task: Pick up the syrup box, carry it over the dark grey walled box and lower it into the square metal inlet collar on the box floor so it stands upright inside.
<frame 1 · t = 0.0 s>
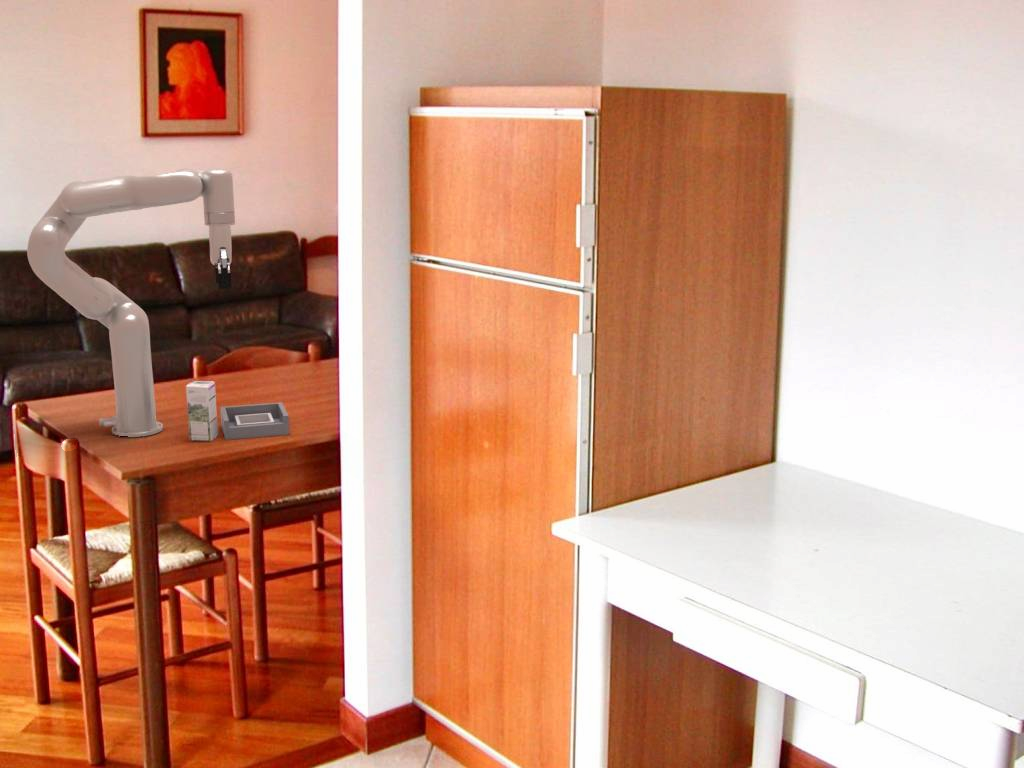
hand: (223, 285, 302), 37 cm above the table, tool pointing down, fingers open, 9 cm apart
walled box: (254, 429, 305), on the table
syrup box: (204, 439, 298), on the table
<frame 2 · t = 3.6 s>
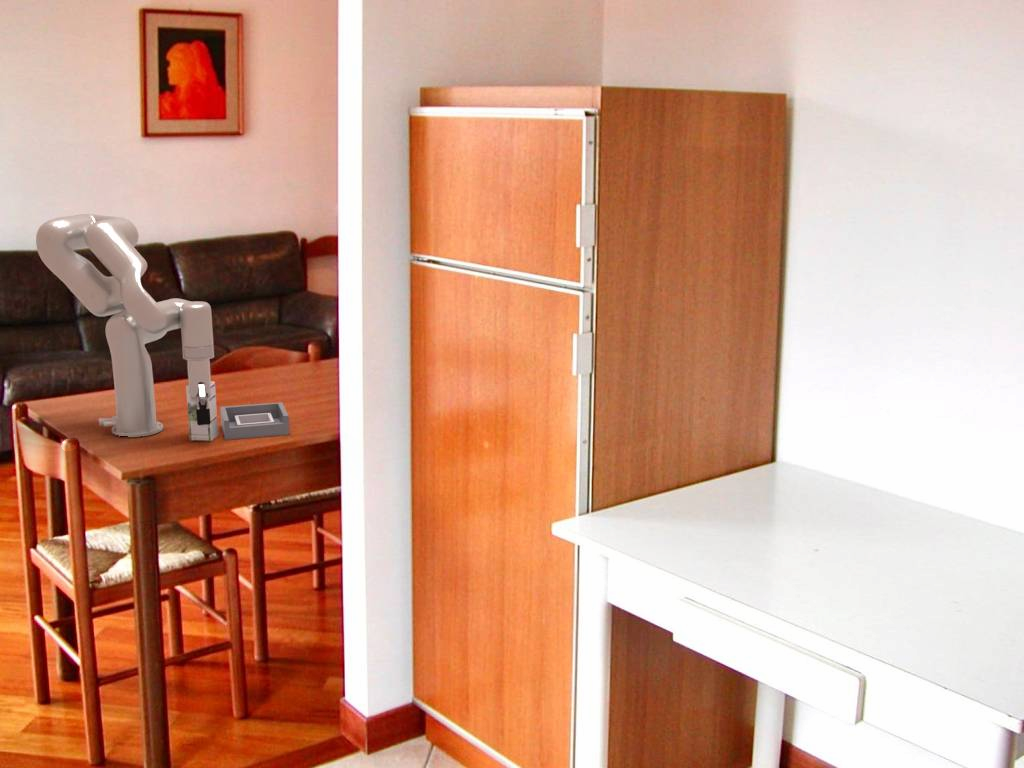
hand: (203, 419, 297), 5 cm above the table, tool pointing down, fingers closed on syrup box, 7 cm apart
syrup box: (204, 439, 298), on the table, touching gripper
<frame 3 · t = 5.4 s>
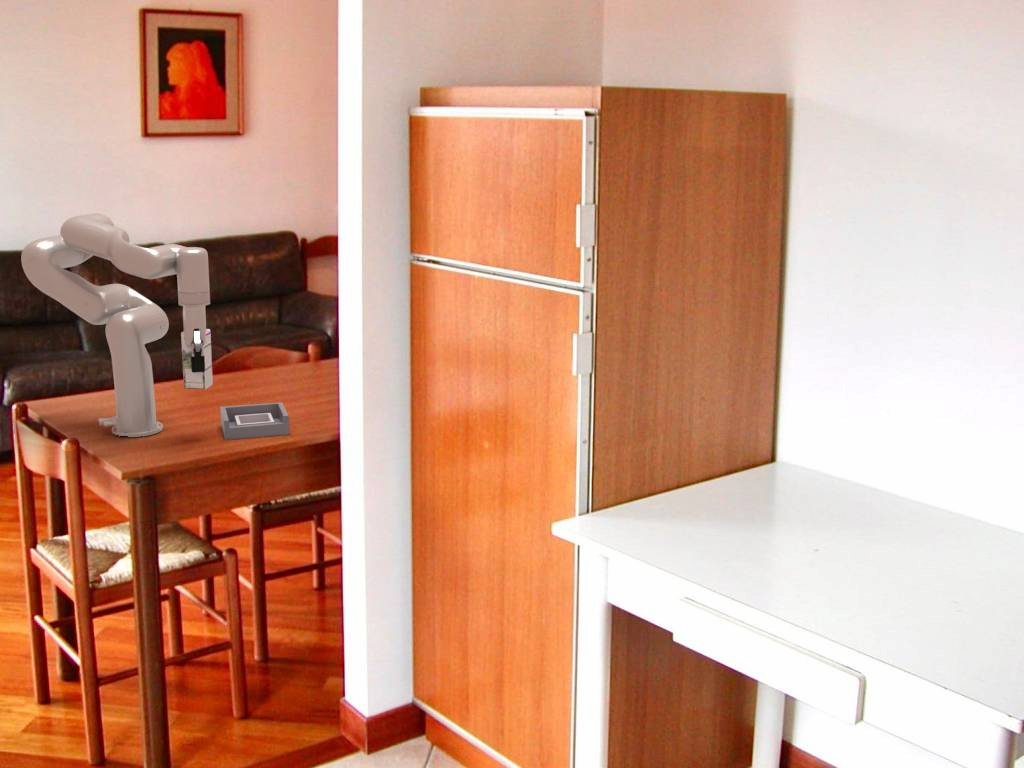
hand: (197, 367, 294), 18 cm above the table, tool pointing down, fingers closed on syrup box, 7 cm apart
syrup box: (198, 387, 295), point 13 cm above the table, touching gripper
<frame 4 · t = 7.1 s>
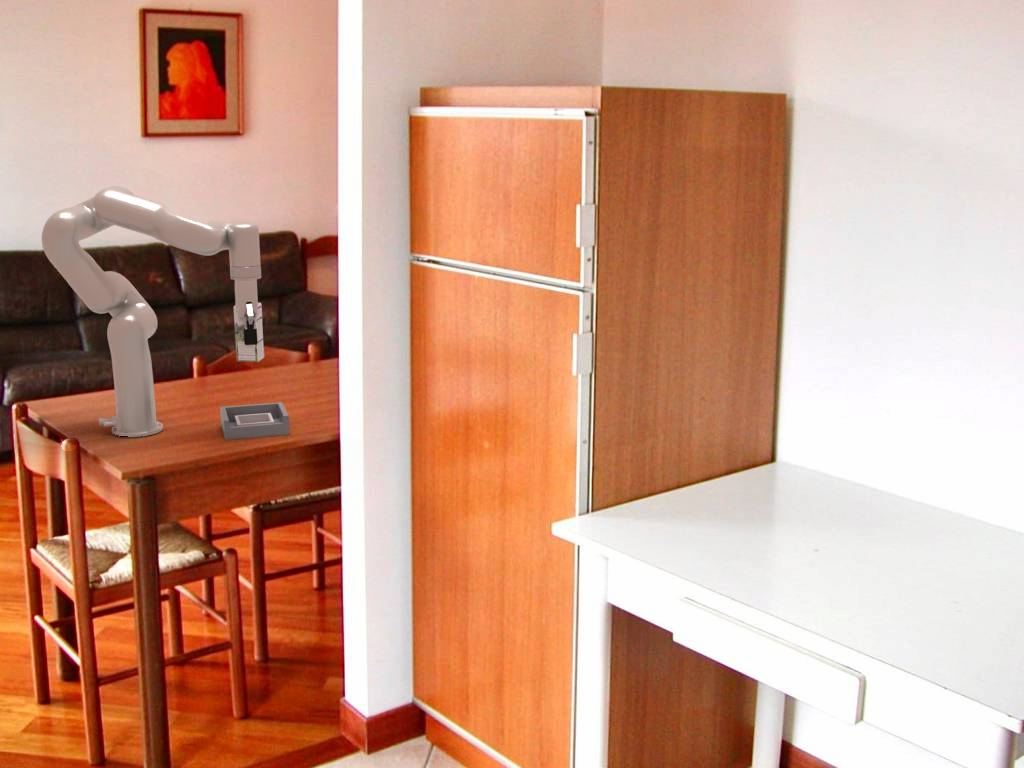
hand: (249, 340, 300), 24 cm above the table, tool pointing down, fingers closed on syrup box, 7 cm apart
syrup box: (250, 360, 301), point 18 cm above the table, touching gripper
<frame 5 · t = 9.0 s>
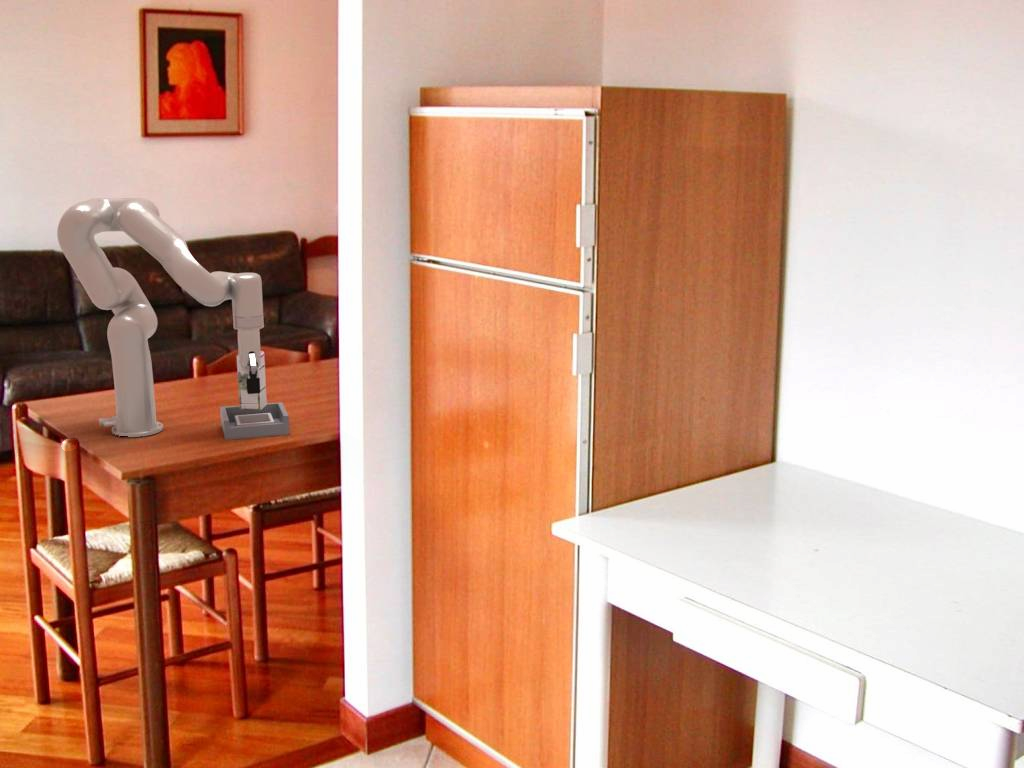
hand: (252, 389, 303), 11 cm above the table, tool pointing down, fingers closed on syrup box, 7 cm apart
syrup box: (253, 408, 304), point 6 cm above the table, touching gripper
when the fingers open (7 cm above the table, at t = 10.6 s): syrup box stays where it is, resting on walled box.
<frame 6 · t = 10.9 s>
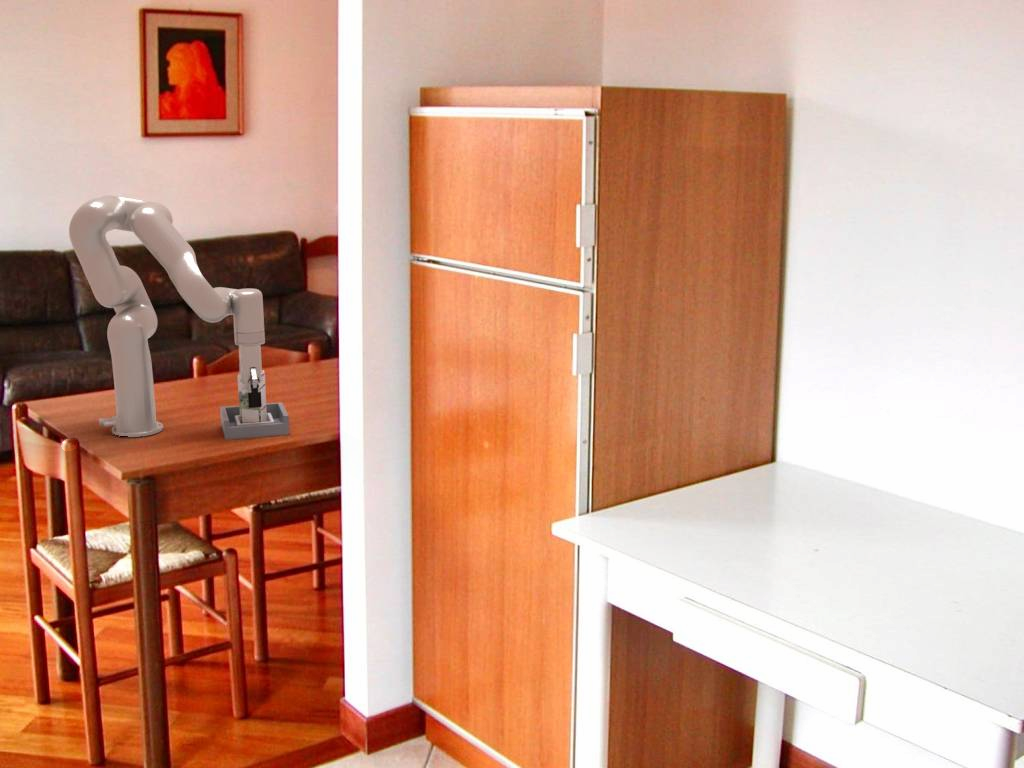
hand: (253, 402, 304), 7 cm above the table, tool pointing down, fingers open, 9 cm apart
syrup box: (254, 427, 305), point 1 cm above the table, touching walled box
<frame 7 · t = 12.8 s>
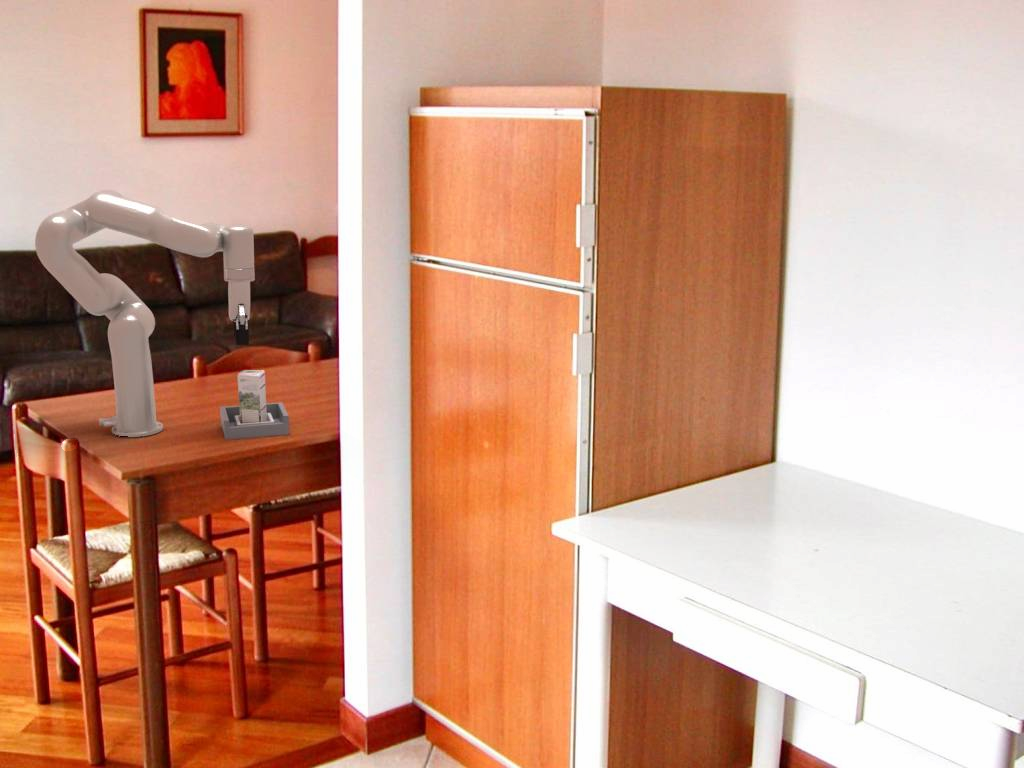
hand: (241, 340, 302), 23 cm above the table, tool pointing down, fingers open, 9 cm apart
nothing on the table moved.
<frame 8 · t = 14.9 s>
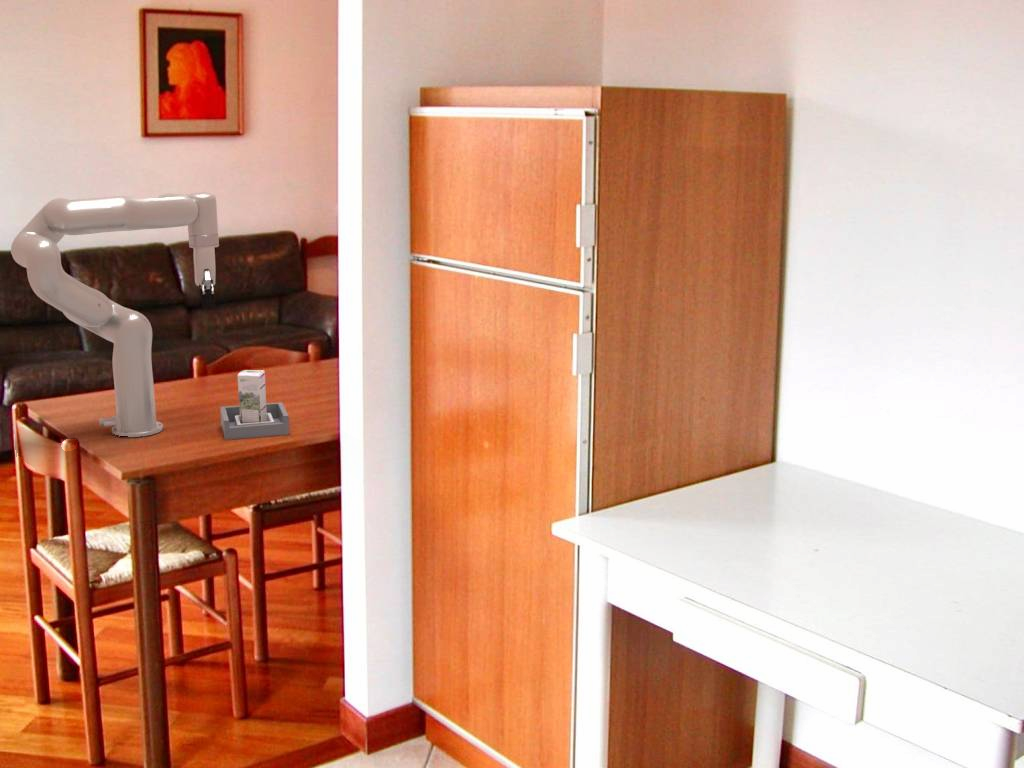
hand: (208, 306, 310), 30 cm above the table, tool pointing down, fingers open, 9 cm apart
nothing on the table moved.
at the end: syrup box 0.2 cm off-centre on the walled box, point 0.8 cm above the walled box's base; syrup box tilted 0°; the gripper is holding nothing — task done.
